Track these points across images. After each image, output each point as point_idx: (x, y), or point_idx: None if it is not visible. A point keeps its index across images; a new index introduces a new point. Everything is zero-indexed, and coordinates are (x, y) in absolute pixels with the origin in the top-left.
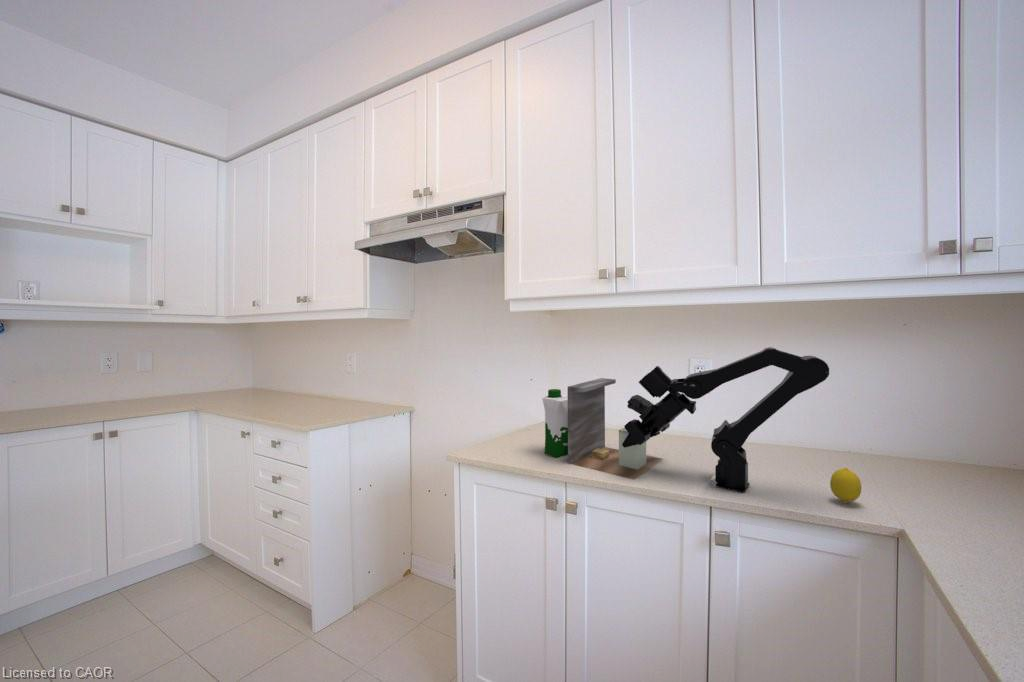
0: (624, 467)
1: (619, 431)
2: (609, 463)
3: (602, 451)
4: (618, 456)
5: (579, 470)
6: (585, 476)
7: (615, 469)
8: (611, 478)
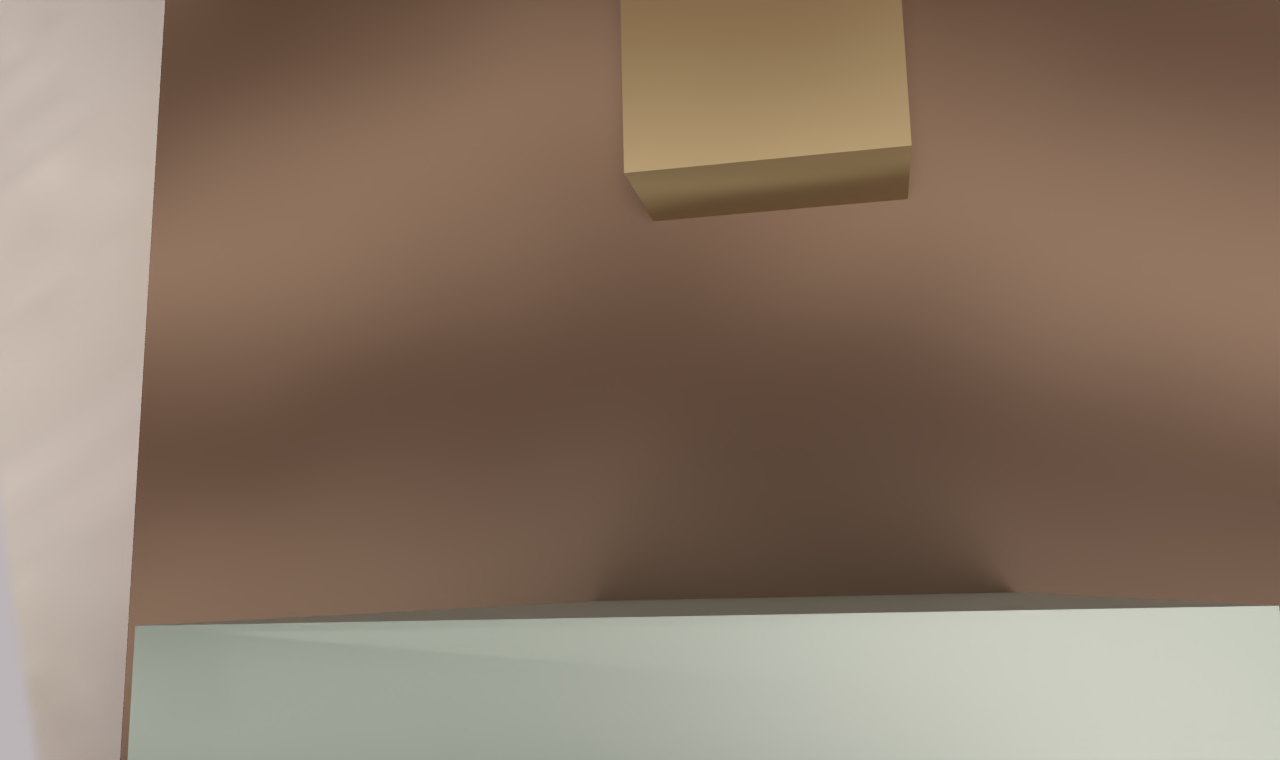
0: None
1: (167, 660)
2: (568, 405)
3: (751, 76)
4: (1089, 326)
5: None
6: (7, 342)
7: None
8: None
